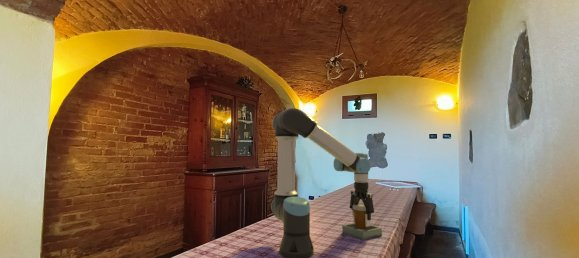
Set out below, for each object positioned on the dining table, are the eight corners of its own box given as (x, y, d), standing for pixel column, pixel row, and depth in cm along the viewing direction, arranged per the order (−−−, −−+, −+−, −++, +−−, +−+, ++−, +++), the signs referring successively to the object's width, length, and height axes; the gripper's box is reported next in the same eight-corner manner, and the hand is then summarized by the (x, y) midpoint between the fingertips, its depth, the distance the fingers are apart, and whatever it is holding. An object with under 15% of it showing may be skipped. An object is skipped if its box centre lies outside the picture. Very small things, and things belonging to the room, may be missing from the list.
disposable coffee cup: (371, 230, 152) (371, 207, 152) (352, 229, 153) (352, 206, 154) (370, 225, 161) (370, 203, 162) (352, 224, 163) (352, 202, 163)
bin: (362, 240, 147) (362, 232, 147) (342, 232, 160) (342, 225, 160) (381, 235, 154) (381, 228, 155) (360, 228, 167) (360, 221, 167)
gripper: (381, 183, 152) (381, 228, 150) (352, 179, 169) (352, 219, 168) (371, 184, 148) (371, 230, 146) (342, 180, 165) (342, 221, 164)
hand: (361, 224), depth 157 cm, fingers closed on disposable coffee cup, 8 cm apart
